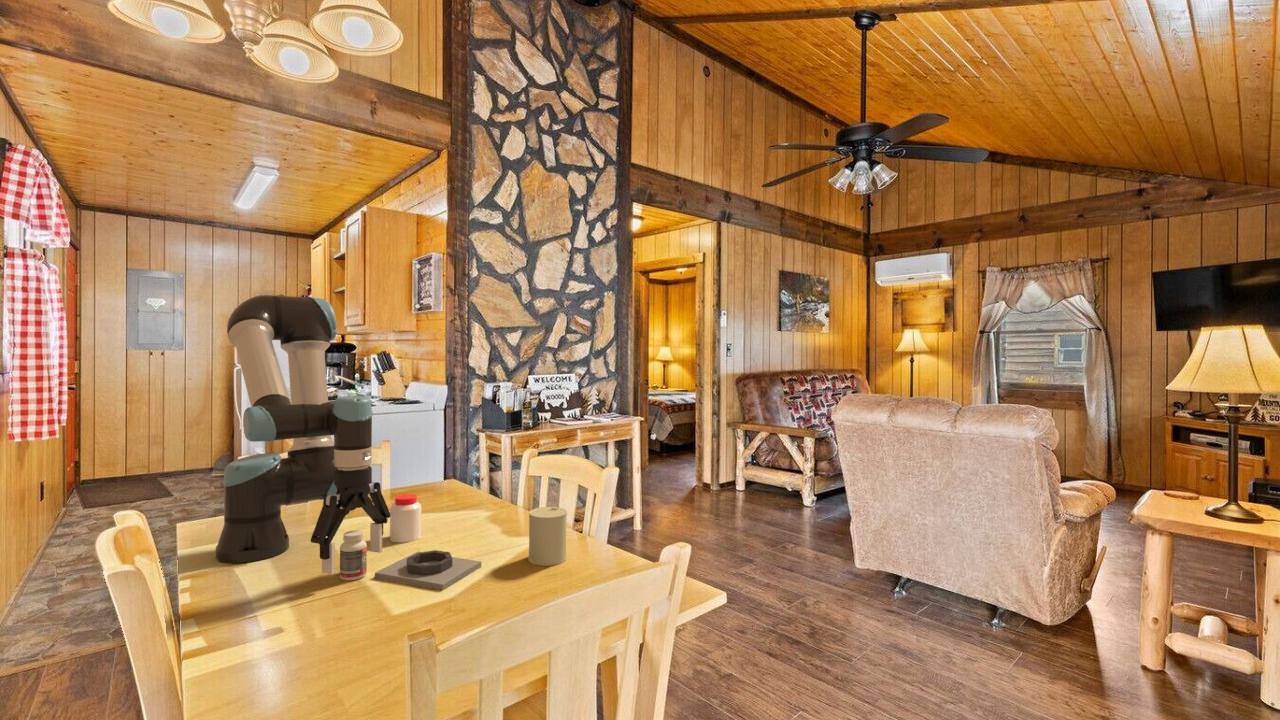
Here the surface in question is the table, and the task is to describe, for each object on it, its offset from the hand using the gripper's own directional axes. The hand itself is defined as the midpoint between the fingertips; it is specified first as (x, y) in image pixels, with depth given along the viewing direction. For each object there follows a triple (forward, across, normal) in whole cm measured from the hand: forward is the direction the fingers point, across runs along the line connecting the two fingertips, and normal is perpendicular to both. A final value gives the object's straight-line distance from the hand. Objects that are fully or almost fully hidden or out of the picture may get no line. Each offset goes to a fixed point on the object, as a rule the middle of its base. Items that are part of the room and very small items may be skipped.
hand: (353, 561), depth 132 cm
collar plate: (+3, +8, -14) cm, 16 cm away
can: (+4, +25, -35) cm, 43 cm away
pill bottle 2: (+4, +25, +7) cm, 26 cm away
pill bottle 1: (+4, 0, 0) cm, 4 cm away
